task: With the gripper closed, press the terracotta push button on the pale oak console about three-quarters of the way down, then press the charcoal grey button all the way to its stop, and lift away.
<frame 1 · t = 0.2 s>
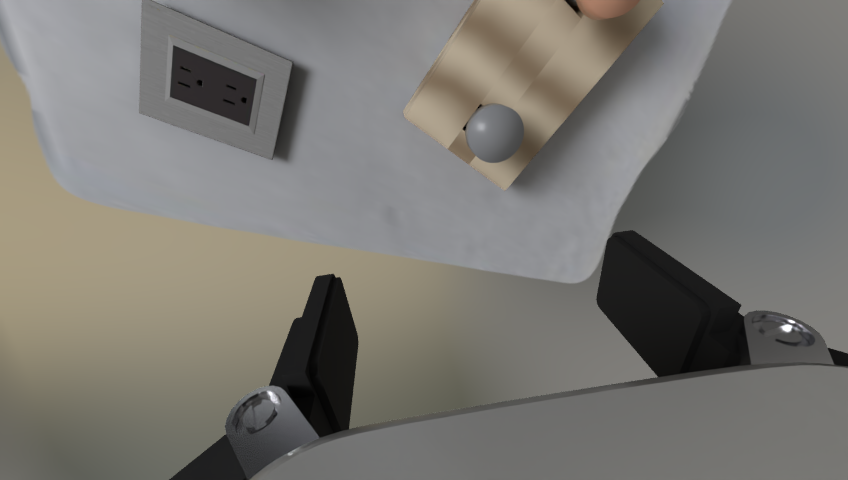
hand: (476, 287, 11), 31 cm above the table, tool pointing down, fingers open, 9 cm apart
console: (511, 62, 36), on the table
grey button: (487, 128, 32), point 7 cm above the table, slide at 0.0 cm
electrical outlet: (224, 86, 35), on the table
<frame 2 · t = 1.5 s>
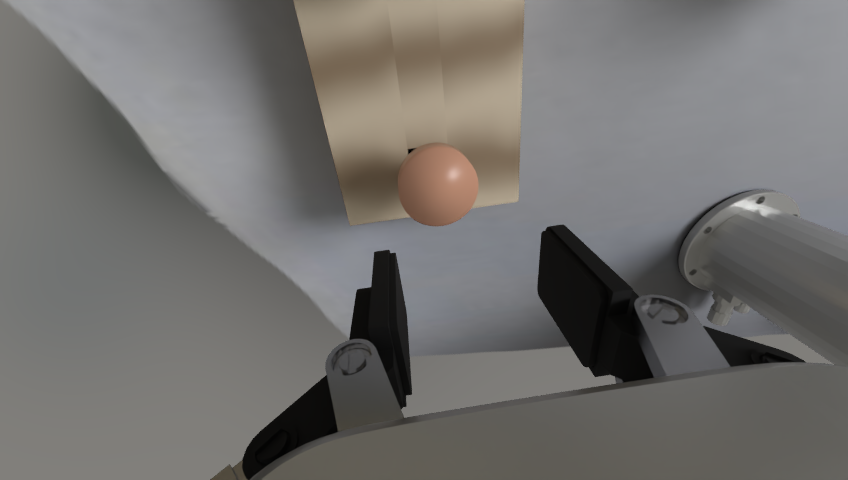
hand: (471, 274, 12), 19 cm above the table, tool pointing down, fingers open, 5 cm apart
console: (413, 62, 26), on the table
terracotta button: (432, 174, 23), point 7 cm above the table, slide at 0.0 cm
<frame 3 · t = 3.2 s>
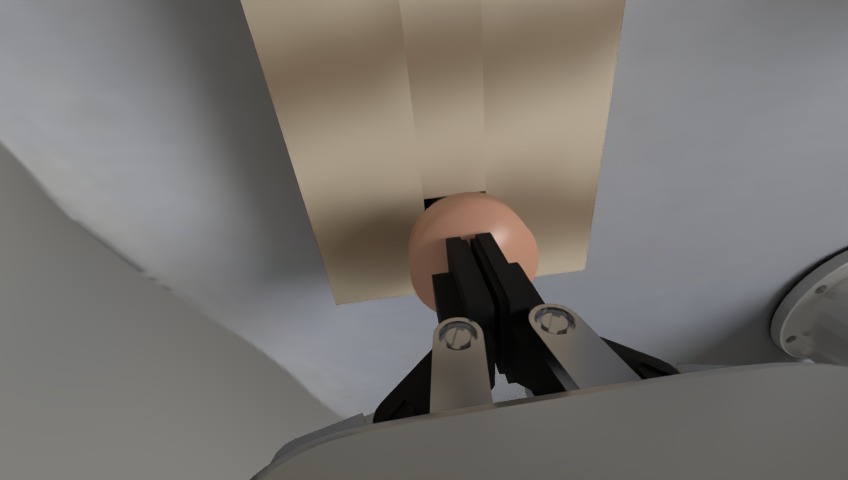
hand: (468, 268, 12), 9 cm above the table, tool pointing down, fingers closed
console: (432, 64, 17), on the table
terracotta button: (459, 231, 15), point 6 cm above the table, slide at 1.2 cm, touching gripper
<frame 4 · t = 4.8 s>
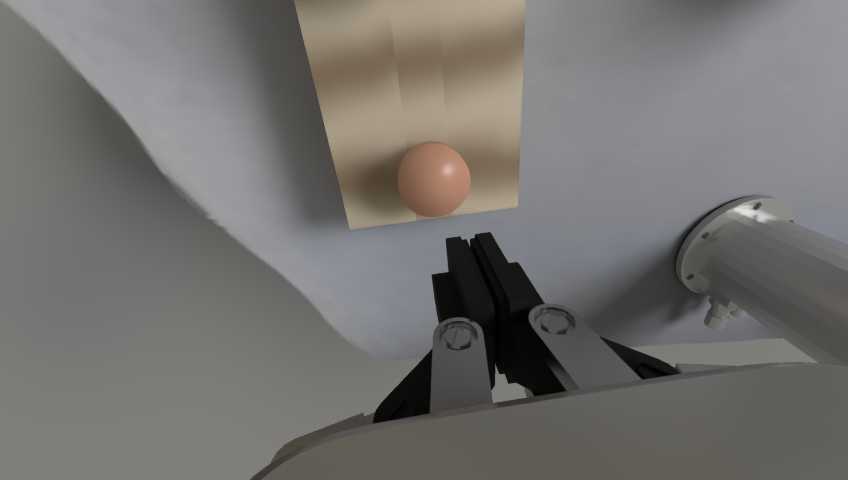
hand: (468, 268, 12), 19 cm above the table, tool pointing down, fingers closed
console: (414, 67, 26), on the table
terracotta button: (429, 170, 25), point 5 cm above the table, slide at 2.3 cm
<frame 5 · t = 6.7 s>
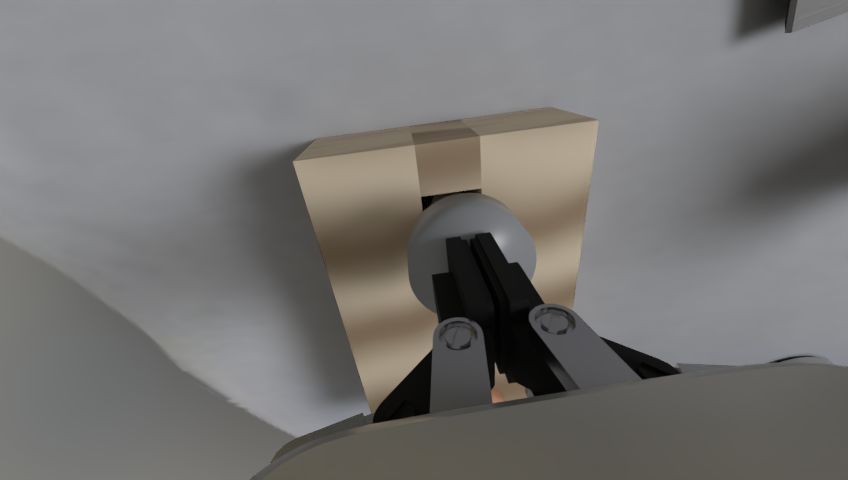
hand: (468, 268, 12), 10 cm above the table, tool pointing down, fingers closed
console: (449, 275, 24), on the table
terracotta button: (466, 391, 24), point 5 cm above the table, slide at 2.3 cm
grey button: (458, 232, 15), point 6 cm above the table, slide at 0.7 cm, touching gripper
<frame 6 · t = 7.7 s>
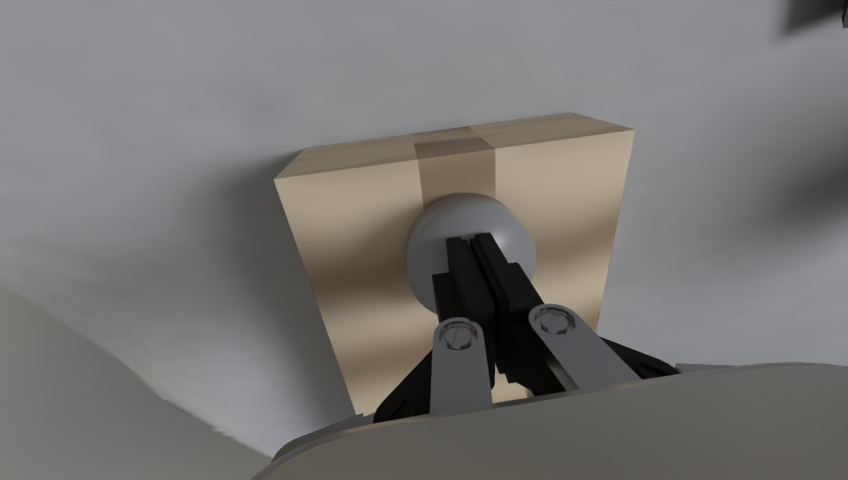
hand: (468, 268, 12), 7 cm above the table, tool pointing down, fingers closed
console: (454, 297, 22), on the table
grey button: (457, 232, 15), point 4 cm above the table, slide at 3.2 cm, touching gripper
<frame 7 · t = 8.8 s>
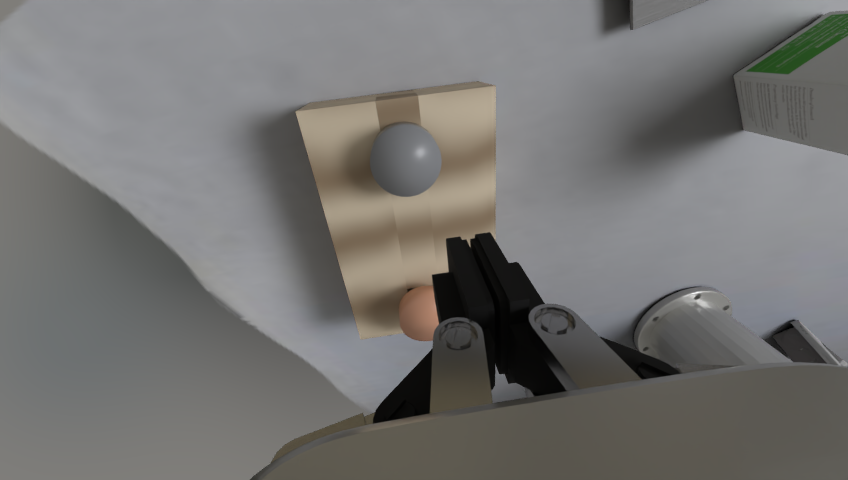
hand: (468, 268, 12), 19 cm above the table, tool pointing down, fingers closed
console: (411, 212, 32), on the table
skincare box: (777, 78, 30), on the table
terracotta button: (424, 297, 32), point 5 cm above the table, slide at 2.3 cm
grey button: (403, 151, 26), point 4 cm above the table, slide at 3.2 cm
electrical switch: (787, 339, 49), on the table
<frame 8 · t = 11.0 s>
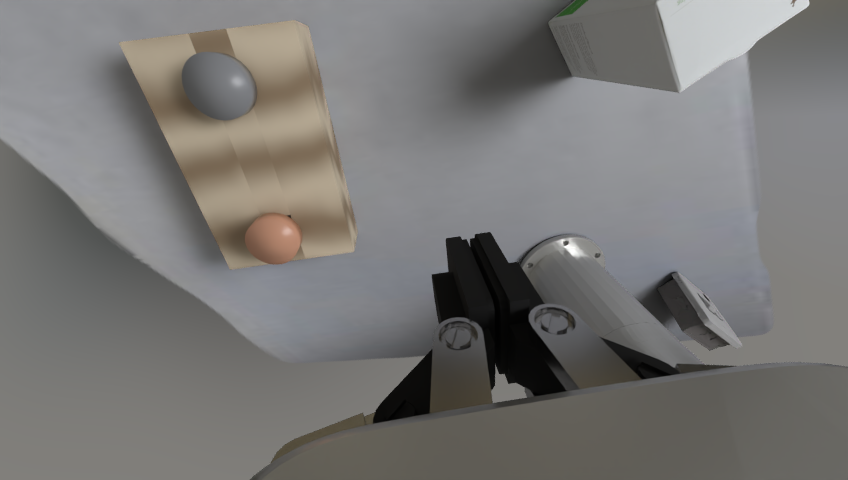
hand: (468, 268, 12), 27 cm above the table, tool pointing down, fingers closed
console: (273, 152, 36), on the table
skincare box: (592, 26, 33), on the table
terracotta button: (281, 228, 35), point 5 cm above the table, slide at 2.3 cm
grey button: (233, 85, 29), point 4 cm above the table, slide at 3.2 cm
electrical switch: (675, 293, 52), on the table
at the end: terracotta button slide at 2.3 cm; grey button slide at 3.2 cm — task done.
